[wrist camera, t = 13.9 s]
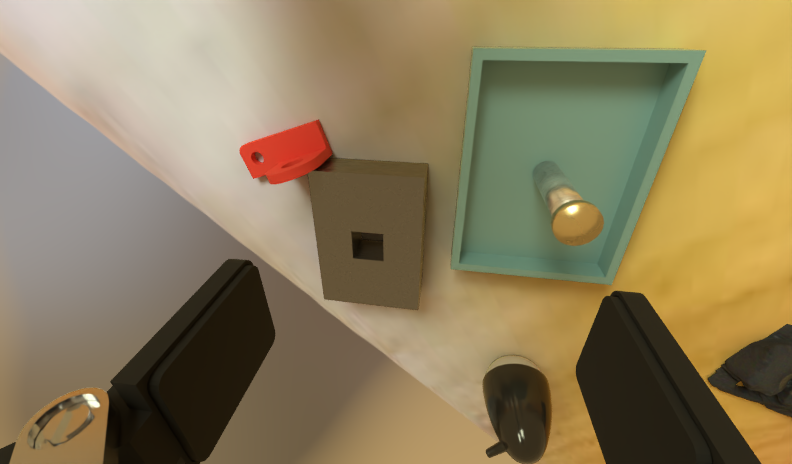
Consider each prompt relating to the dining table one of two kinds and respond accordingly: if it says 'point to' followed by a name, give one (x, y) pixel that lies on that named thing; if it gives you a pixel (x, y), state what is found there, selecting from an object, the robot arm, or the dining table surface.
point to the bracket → (287, 153)
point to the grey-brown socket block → (370, 230)
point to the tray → (562, 151)
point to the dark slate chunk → (761, 372)
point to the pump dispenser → (518, 408)
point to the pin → (567, 207)
